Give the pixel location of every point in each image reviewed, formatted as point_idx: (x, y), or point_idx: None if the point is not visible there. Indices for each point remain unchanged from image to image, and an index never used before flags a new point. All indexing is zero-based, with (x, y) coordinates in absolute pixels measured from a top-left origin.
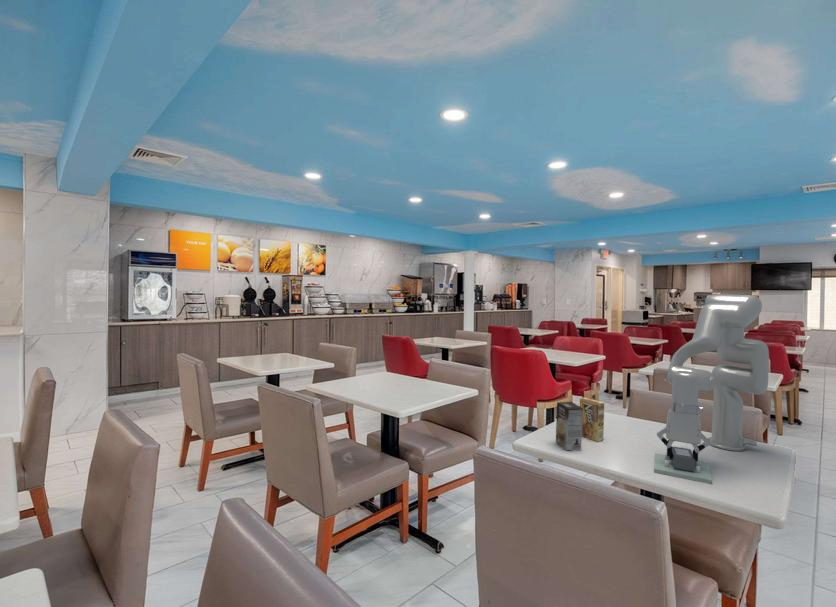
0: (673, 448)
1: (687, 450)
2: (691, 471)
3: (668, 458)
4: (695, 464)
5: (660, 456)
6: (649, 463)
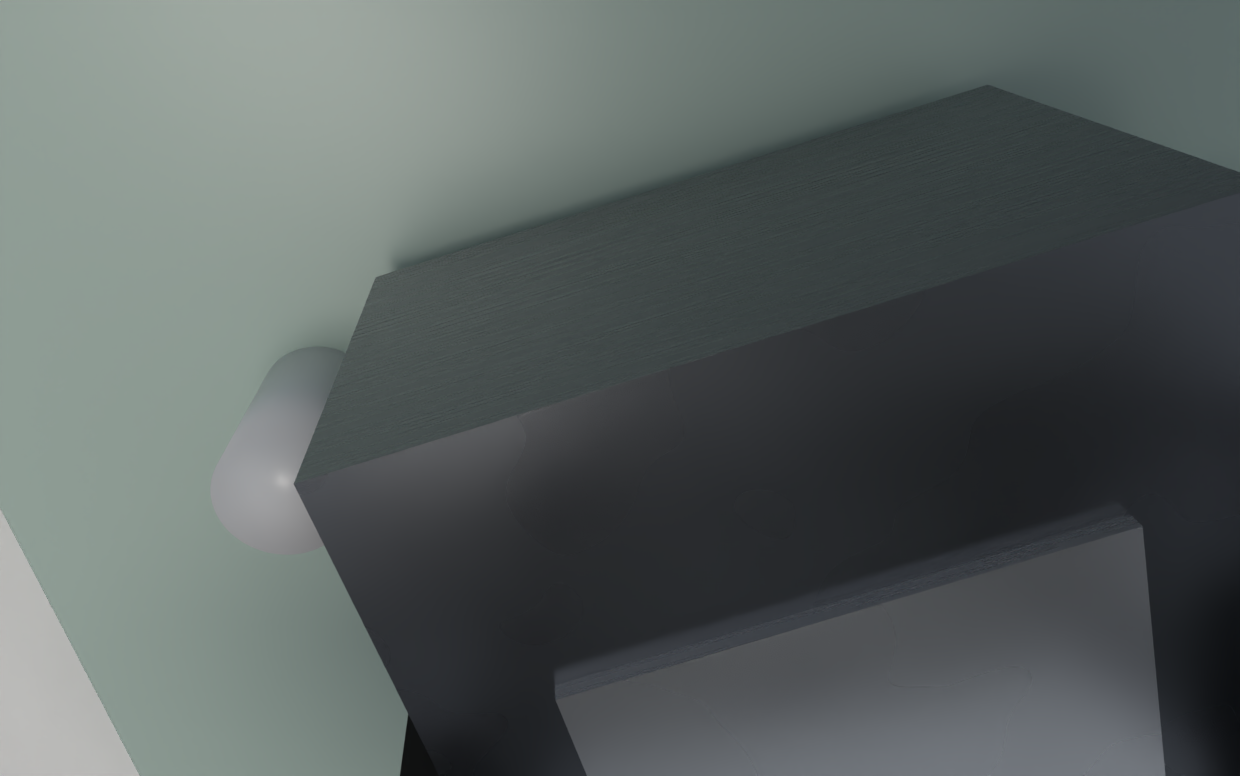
0: (517, 698)
1: (1121, 575)
2: None
3: None
4: None
5: (75, 276)
6: (46, 709)
